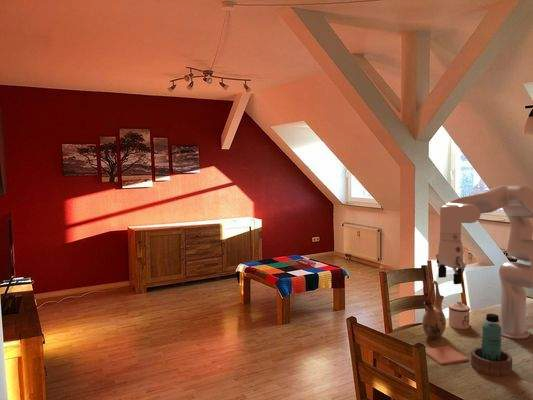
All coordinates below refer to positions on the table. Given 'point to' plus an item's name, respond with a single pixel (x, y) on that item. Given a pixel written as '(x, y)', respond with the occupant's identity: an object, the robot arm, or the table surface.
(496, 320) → the beverage bottle
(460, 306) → the teacup with lid
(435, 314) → the ceramic vessel
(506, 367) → the walnut collar
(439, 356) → the terracotta tile
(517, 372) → the table surface
